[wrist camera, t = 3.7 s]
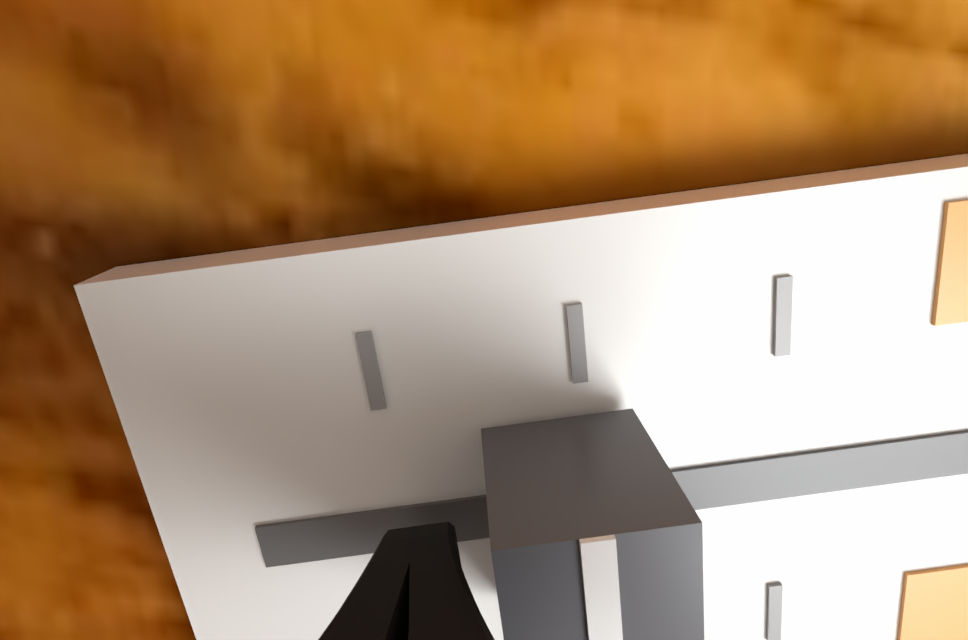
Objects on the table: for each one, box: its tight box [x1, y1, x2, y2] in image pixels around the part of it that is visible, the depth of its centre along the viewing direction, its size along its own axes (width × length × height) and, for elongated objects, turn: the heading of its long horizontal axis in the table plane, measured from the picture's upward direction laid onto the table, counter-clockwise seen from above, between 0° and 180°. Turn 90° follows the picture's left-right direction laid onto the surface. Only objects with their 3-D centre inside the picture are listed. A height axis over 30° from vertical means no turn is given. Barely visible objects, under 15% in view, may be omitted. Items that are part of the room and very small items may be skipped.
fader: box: [481, 408, 704, 640], centre depth 11 cm, size 4×3×4 cm
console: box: [73, 154, 968, 640], centre depth 14 cm, size 12×26×2 cm, turn 97°
